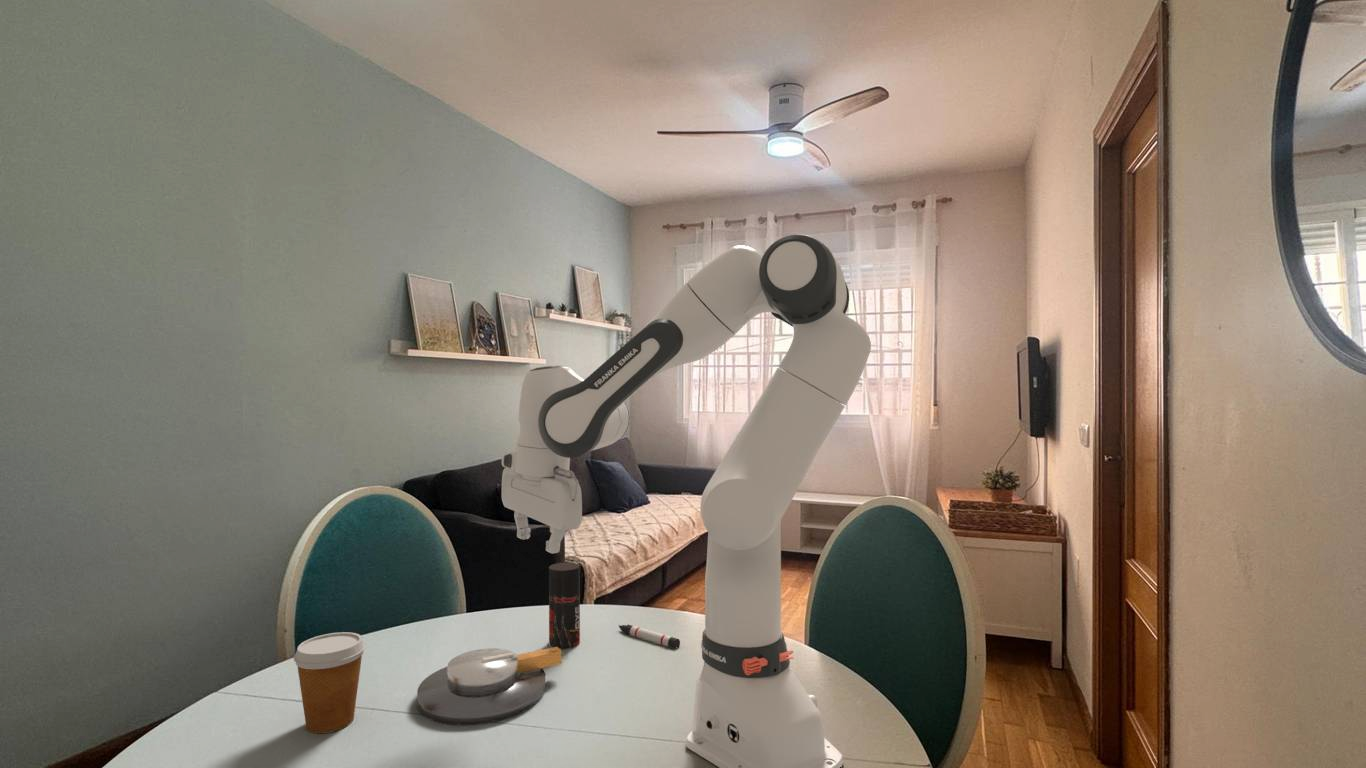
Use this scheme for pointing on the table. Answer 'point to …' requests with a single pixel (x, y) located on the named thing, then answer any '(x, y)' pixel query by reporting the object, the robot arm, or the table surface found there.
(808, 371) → the robot arm
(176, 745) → the table surface
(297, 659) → the disposable coffee cup
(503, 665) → the dial
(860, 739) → the table surface
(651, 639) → the marker
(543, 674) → the plate
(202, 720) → the table surface
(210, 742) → the table surface
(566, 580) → the deodorant
